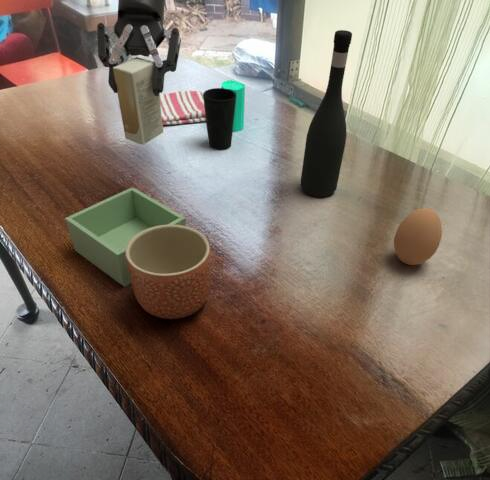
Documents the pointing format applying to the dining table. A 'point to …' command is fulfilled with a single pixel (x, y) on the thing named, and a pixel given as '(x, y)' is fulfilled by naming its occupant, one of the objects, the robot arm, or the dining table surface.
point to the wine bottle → (327, 129)
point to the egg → (418, 236)
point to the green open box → (116, 229)
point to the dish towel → (182, 107)
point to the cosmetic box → (138, 100)
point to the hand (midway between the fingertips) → (135, 92)
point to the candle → (237, 102)
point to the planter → (169, 270)
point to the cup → (219, 117)
